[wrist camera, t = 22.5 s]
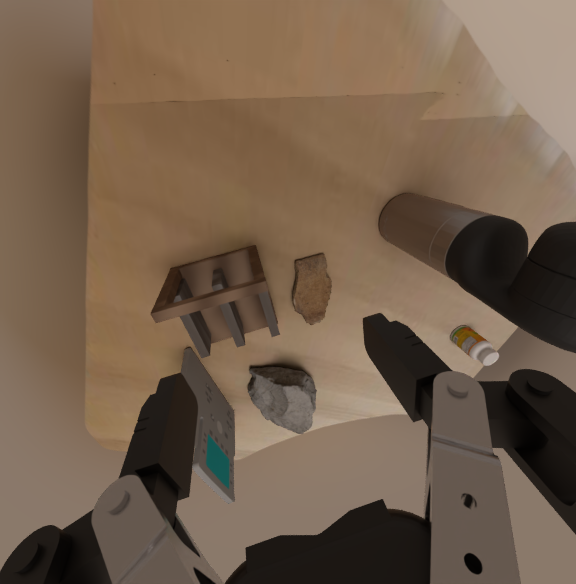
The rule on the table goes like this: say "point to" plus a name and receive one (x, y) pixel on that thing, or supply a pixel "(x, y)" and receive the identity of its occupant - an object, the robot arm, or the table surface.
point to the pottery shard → (311, 288)
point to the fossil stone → (284, 396)
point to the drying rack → (218, 299)
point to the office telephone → (211, 430)
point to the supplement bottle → (474, 345)
